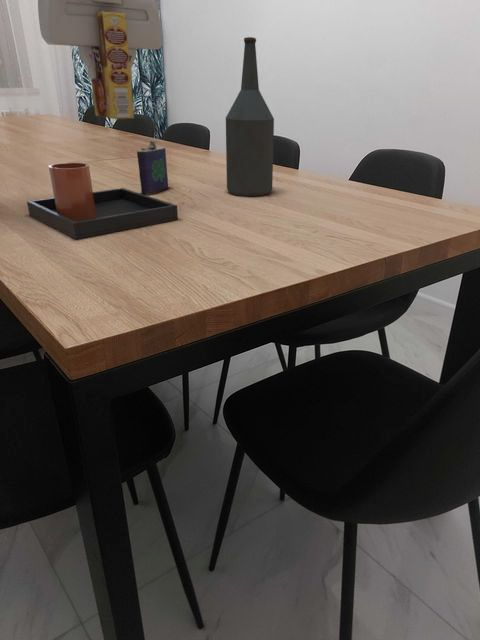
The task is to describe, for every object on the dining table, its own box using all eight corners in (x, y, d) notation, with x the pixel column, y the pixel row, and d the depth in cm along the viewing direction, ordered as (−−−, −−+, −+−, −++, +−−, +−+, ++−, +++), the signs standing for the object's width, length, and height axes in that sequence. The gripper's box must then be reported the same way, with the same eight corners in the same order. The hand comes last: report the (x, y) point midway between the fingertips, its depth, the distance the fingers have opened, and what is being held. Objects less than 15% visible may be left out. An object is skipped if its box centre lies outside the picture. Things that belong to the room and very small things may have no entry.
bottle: (264, 186, 120) (267, 39, 105) (277, 195, 111) (282, 36, 97) (222, 188, 117) (219, 37, 102) (232, 197, 109) (230, 34, 94)
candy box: (137, 119, 86) (126, 11, 78) (112, 119, 84) (99, 9, 76) (117, 115, 92) (106, 15, 85) (94, 115, 90) (81, 13, 82)
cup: (68, 225, 85) (58, 170, 81) (52, 218, 89) (42, 164, 85) (102, 219, 89) (95, 166, 85) (86, 212, 93) (78, 161, 89)
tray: (76, 239, 80) (73, 223, 79) (29, 215, 93) (26, 201, 92) (178, 219, 92) (177, 205, 91) (124, 200, 105) (123, 187, 103)
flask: (161, 186, 118) (157, 137, 112) (172, 188, 117) (169, 138, 111) (138, 194, 110) (133, 142, 105) (149, 195, 109) (145, 143, 104)
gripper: (146, -12, 86) (153, 79, 93) (26, -28, 74) (44, 78, 81) (166, -16, 82) (172, 79, 89) (43, -33, 70) (60, 79, 77)
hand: (110, 79), depth 85 cm, fingers closed on candy box, 4 cm apart
